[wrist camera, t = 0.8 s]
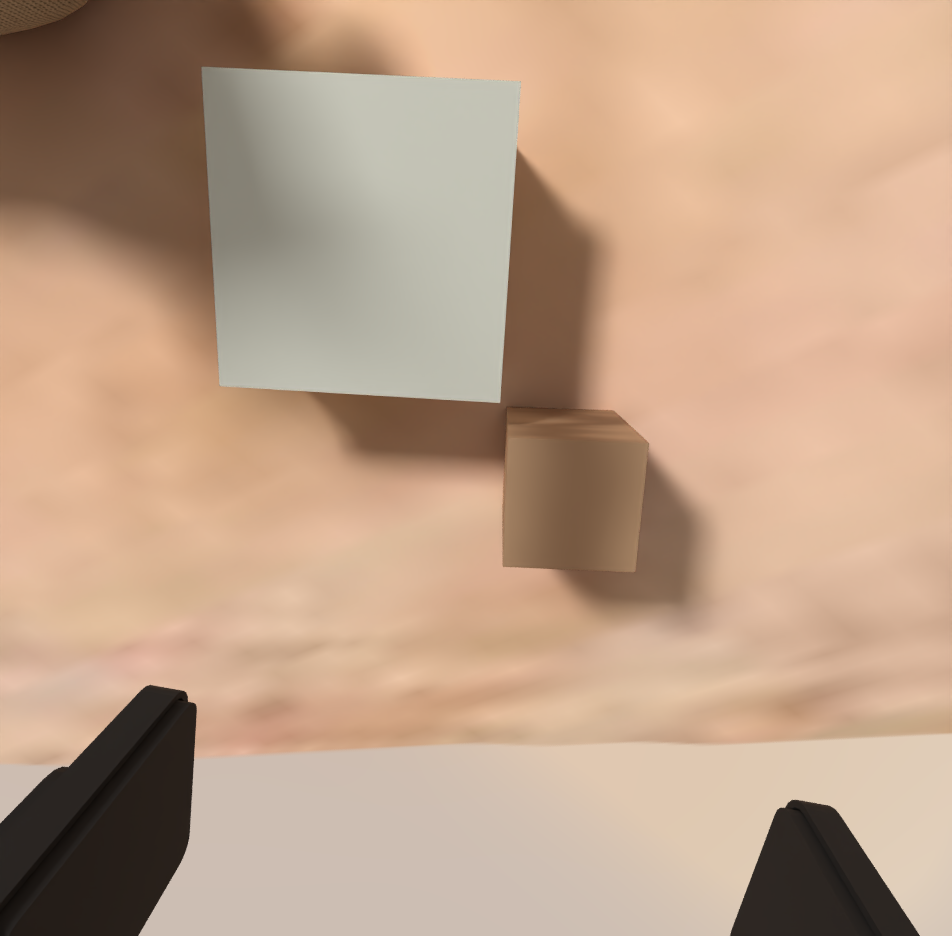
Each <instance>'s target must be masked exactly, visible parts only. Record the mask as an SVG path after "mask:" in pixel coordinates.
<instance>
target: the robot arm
mask: <svg viewBox="0 0 952 936" xmlns="http://www.w3.org/2000/svg"><path fill="white" fill-rule="evenodd" d="M196 713H197V708H196V704H195V703H191V702H188V696H187V694H186V692H184V691H181V690H175V689H169V688H164V687H158V686H153V685H149V686H146V687H145V688H143V689H142V690H141V691H140V692H139V693H138V694H137V695H136V696H135V697H134V698H133V699H132V701H131V702H130V703H129V704H128V705H127V706H126V707H125V708H124V709H123V710H122V711H121V712H120V713H119V714H118V715H117V716H116V717H115V719H114V720H113V721H112V722H111V723H110V724H109V725H108V726H107V727H106V728H105V729H104V730H103V731H102V732H101V733H100V734H99V735H98V736H97V738H96V739H95V740H94V741H93V742H92V743H91V744H90V745H89V746H88V747H87V748H86V749H85V750H84V751H83V752H82V753H81V754H80V756H79V757H78V758H77V759H76V760H75V761H74V762H73V763H72V764H71V765H70V766H69V767H61V768H58V769H56V770H54V771H53V772H52V773H50V774H49V775H48V776H47V777H46V778H44V779H43V780H42V782H40V783H39V784H38V785H37V786H36V788H35V789H33V791H32V792H31V793H30V794H29V795H28V796H27V797H26V798H25V799H24V800H23V801H22V802H21V803H20V804H19V805H18V806H17V807H16V808H15V809H14V810H13V811H12V812H11V813H10V814H9V815H8V816H7V817H6V818H5V819H4V820H3V821H2V822H1V823H0V936H138V935H139V933H140V932H141V930H142V928H143V926H144V925H145V923H146V921H147V920H148V918H149V916H150V915H151V913H152V911H153V909H154V908H155V906H156V904H157V902H158V901H159V899H160V897H161V896H162V894H163V892H164V890H165V889H166V887H167V885H168V884H169V881H170V880H171V878H172V877H173V875H174V873H175V872H176V870H177V868H178V866H179V865H180V863H181V861H182V859H183V856H184V854H185V851H186V848H187V845H188V840H189V833H190V816H191V800H192V783H193V765H194V748H195V731H196ZM730 936H920V935H919V934H918V932H917V931H916V929H915V928H914V926H913V925H912V923H911V922H910V920H909V919H908V917H907V916H906V914H905V913H904V911H903V910H902V908H901V907H900V905H899V904H898V902H897V901H896V899H895V898H894V896H893V895H892V893H891V891H890V890H889V888H888V887H887V885H886V884H885V882H884V881H883V879H882V878H881V876H880V875H879V873H878V872H877V870H876V869H875V867H874V866H873V864H872V863H871V861H870V860H869V858H868V857H867V855H866V854H865V852H864V851H863V849H862V848H861V846H860V845H859V843H858V842H857V840H856V839H855V837H854V836H853V834H852V833H851V831H850V830H849V828H848V827H847V825H846V823H845V822H844V820H843V819H842V817H841V816H840V815H839V813H838V812H837V811H836V810H835V809H834V808H832V807H831V806H828V805H821V804H816V803H811V802H805V801H799V800H791V801H790V802H789V803H788V804H787V806H786V807H785V808H779V809H778V810H777V812H776V814H775V816H774V819H773V821H772V824H771V827H770V829H769V832H768V834H767V837H766V840H765V843H764V845H763V848H762V851H761V853H760V856H759V859H758V861H757V864H756V866H755V869H754V872H753V874H752V877H751V880H750V883H749V885H748V888H747V891H746V893H745V896H744V898H743V901H742V904H741V906H740V909H739V912H738V914H737V917H736V920H735V922H734V925H733V928H732V931H731V935H730Z"/></svg>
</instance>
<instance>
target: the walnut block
mask: <svg viewBox="0 0 952 936" xmlns="http://www.w3.org/2000/svg"><path fill="white" fill-rule="evenodd" d="M648 448H649V443H648V442H647V441H646V440H645V439H644V438H643V437H642V436H641V435H640V434H639V433H638V432H636V431H635V430H634V429H633V428H632V427H631V426H630V425H629V424H628V423H627V422H626V421H625V420H623V419H622V418H621V417H620V416H619V415H618V414H617V413H616V412H615V411H612V410H583V409H555V408H526V407H507V413H506V437H505V460H504V484H503V567H521V568H544V569H567V570H590V571H613V572H635V571H636V561H637V552H638V542H639V533H640V524H641V514H642V505H643V495H644V486H645V476H646V467H647V457H648Z"/></svg>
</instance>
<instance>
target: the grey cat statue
mask: <svg viewBox="0 0 952 936" xmlns="http://www.w3.org/2000/svg"><path fill="white" fill-rule="evenodd" d="M87 1H88V0H0V35H5V34H10V33H14V32H19V31H24V30H29V29H33V28H36V27H39V26H43V25H46V24H49V23H52V22H55V21H58V20H61V19H63V18H65V17H66V16H68V15H69V14H71V13H73V12H74V11H76V10H78V9H79V8H81V7H82V6H84V5H85V4H86V2H87Z"/></svg>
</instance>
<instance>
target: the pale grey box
mask: <svg viewBox="0 0 952 936" xmlns="http://www.w3.org/2000/svg"><path fill="white" fill-rule="evenodd" d="M201 69H202V87H203V104H204V122H205V139H206V157H207V174H208V192H209V209H210V227H211V244H212V261H213V279H214V296H215V314H216V331H217V349H218V366H219V384H220V386H226V387H242V388H259V389H276V390H292V391H309V392H325V393H342V394H359V395H375V396H392V397H409V398H425V399H442V400H458V401H475V402H492V403H500V396H501V381H502V366H503V350H504V335H505V319H506V304H507V288H508V273H509V258H510V242H511V227H512V211H513V196H514V181H515V165H516V150H517V134H518V119H519V104H520V88H521V81H501V80H480V79H458V78H436V77H415V76H393V75H371V74H350V73H328V72H307V71H285V70H263V69H242V68H220V67H201Z"/></svg>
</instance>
